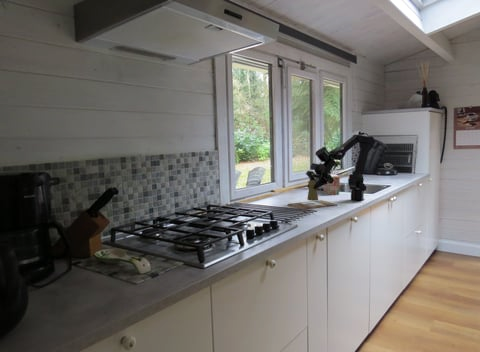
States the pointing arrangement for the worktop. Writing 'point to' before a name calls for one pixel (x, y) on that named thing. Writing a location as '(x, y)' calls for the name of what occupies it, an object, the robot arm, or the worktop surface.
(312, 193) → the pepper mill
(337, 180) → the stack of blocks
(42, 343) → the worktop surface
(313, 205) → the baseplate
